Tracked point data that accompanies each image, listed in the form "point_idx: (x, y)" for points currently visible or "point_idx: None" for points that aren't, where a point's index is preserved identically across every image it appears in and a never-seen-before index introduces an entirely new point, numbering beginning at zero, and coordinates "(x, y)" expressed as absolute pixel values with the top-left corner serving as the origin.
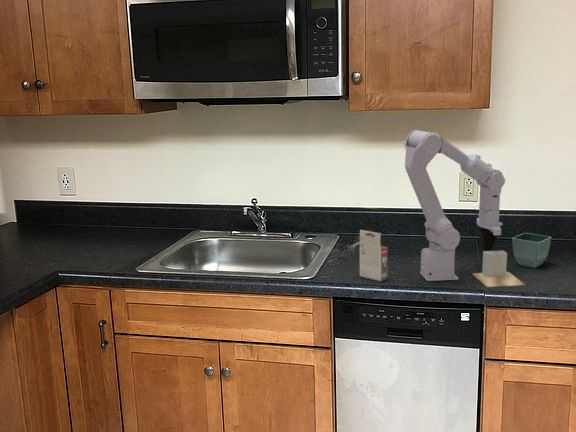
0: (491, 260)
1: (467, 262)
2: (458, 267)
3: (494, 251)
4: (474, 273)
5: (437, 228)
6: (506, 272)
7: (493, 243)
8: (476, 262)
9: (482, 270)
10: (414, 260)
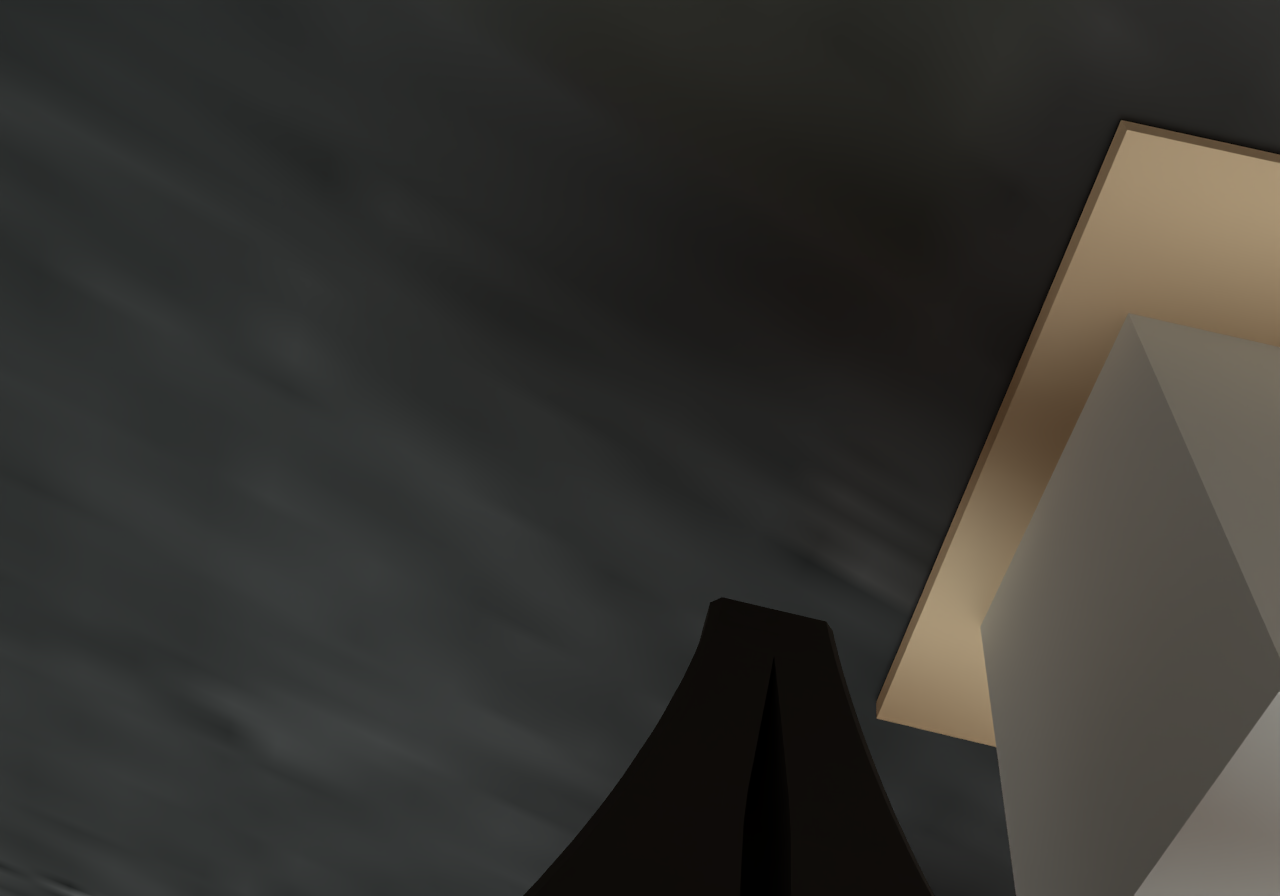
0: None
1: (226, 428)
2: (465, 667)
3: (1216, 890)
4: (896, 699)
5: None
6: (1151, 207)
7: (903, 867)
8: (245, 293)
9: (992, 675)
10: (74, 893)
